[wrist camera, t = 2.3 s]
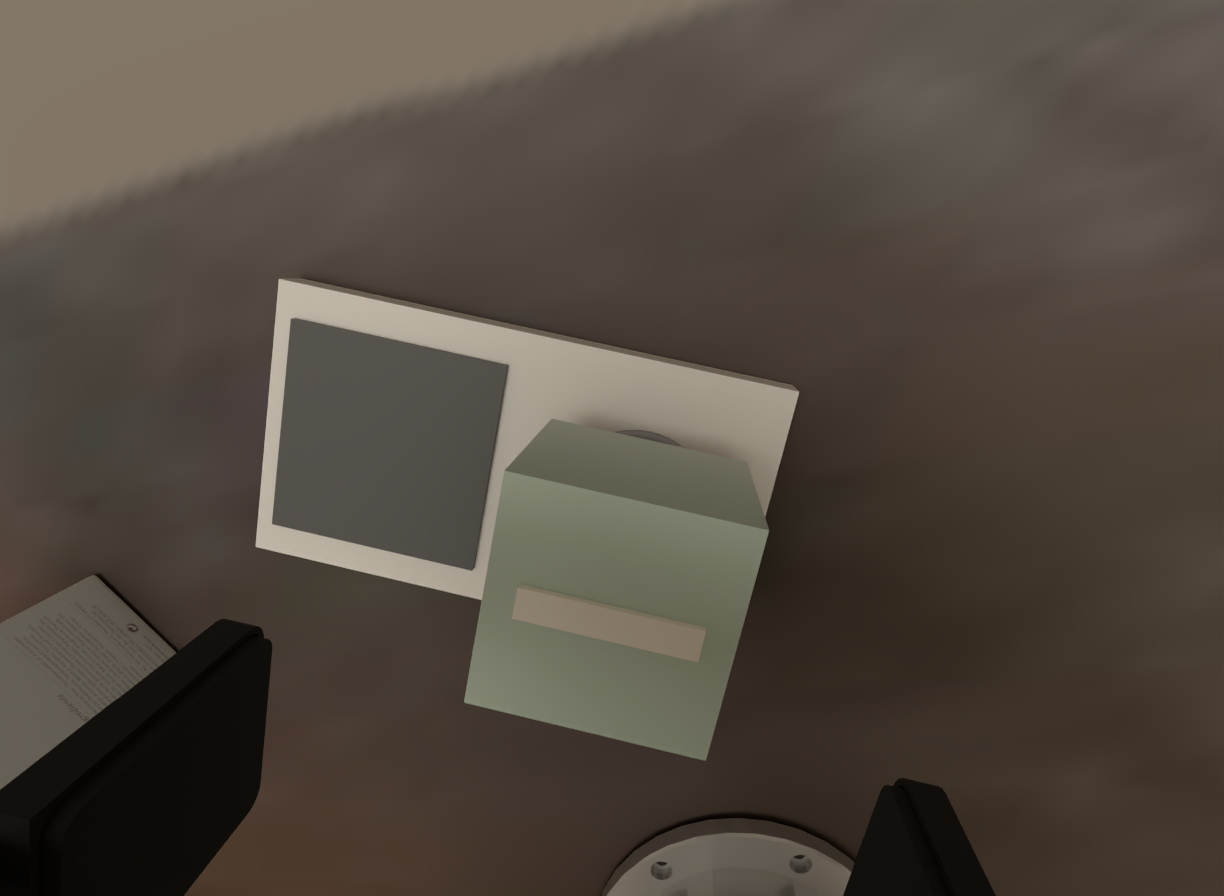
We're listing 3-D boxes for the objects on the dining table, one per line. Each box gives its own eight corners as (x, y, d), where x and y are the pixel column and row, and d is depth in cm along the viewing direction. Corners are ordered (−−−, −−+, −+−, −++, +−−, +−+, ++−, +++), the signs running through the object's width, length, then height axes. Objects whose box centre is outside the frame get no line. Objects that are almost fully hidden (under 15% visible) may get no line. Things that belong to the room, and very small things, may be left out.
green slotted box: (747, 461, 22) (769, 533, 16) (700, 639, 23) (706, 766, 17) (551, 418, 22) (502, 472, 16) (518, 596, 24) (461, 706, 18)
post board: (792, 384, 26) (852, 448, 17) (724, 637, 28) (743, 814, 19) (301, 278, 27) (97, 282, 17) (277, 533, 29) (87, 654, 20)
